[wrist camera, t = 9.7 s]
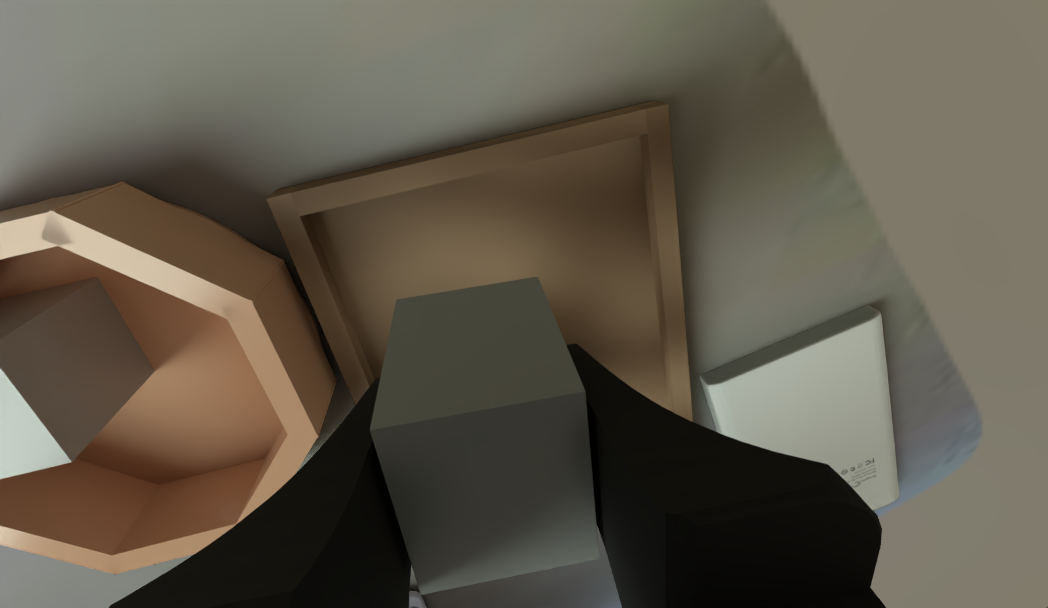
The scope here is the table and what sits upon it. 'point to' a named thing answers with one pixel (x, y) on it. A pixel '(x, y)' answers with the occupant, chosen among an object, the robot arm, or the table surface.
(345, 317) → the tray
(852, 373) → the external hard drive
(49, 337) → the stone
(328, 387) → the bowl
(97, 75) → the table surface
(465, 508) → the stone
